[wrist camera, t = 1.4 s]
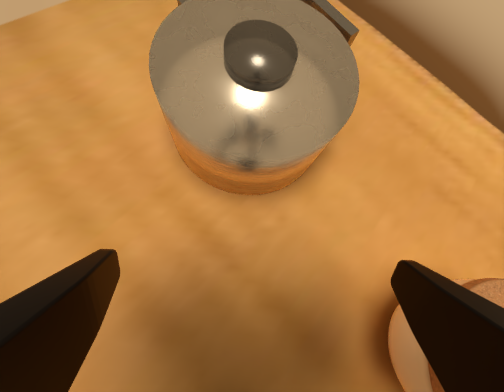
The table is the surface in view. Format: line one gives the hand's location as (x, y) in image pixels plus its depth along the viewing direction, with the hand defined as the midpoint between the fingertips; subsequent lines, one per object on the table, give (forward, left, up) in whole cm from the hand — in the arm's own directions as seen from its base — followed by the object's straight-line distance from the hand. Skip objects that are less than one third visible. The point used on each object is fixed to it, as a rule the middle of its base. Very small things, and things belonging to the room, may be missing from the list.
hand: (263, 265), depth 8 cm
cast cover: (+9, -11, -14) cm, 20 cm away
